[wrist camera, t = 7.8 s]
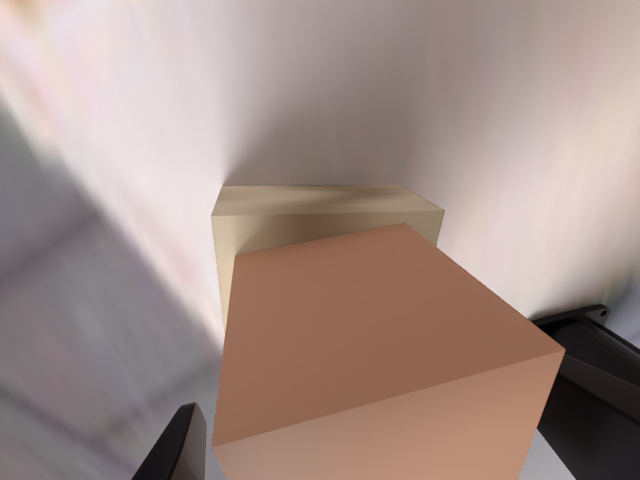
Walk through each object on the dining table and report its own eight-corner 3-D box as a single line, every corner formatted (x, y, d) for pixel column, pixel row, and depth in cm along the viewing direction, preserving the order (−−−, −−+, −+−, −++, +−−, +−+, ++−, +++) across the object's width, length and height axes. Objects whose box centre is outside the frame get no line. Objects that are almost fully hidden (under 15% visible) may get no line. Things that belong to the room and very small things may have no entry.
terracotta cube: (405, 222, 10) (565, 349, 5) (402, 345, 13) (505, 512, 8) (235, 255, 10) (211, 448, 4) (269, 378, 12) (280, 591, 7)
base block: (396, 183, 14) (444, 210, 10) (375, 315, 17) (406, 370, 14) (222, 183, 12) (211, 216, 9) (236, 329, 16) (231, 395, 12)
